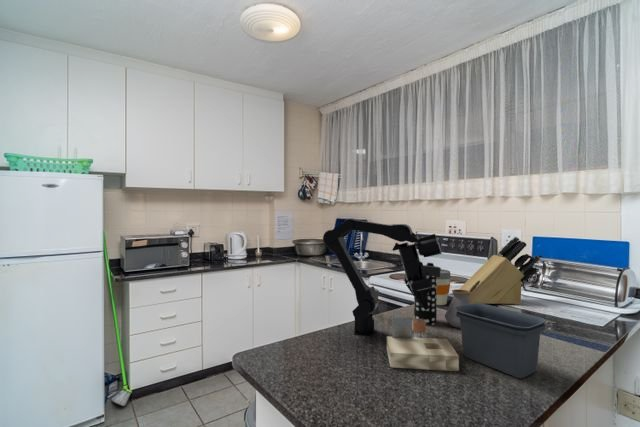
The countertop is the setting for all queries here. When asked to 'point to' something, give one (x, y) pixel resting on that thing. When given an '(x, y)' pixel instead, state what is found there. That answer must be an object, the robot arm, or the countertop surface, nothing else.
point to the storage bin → (501, 338)
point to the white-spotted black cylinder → (431, 312)
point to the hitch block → (422, 354)
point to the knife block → (502, 276)
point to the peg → (418, 327)
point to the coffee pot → (458, 300)
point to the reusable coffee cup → (443, 287)
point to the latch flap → (401, 327)
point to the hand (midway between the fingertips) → (423, 306)
